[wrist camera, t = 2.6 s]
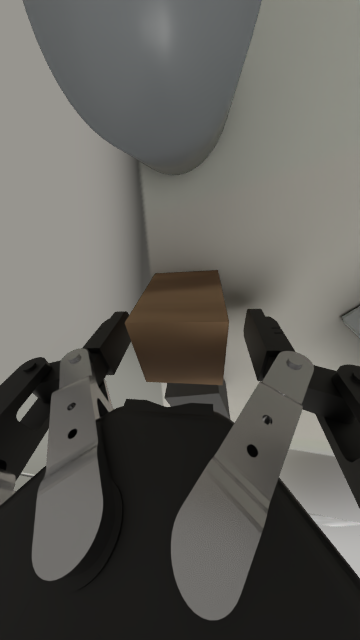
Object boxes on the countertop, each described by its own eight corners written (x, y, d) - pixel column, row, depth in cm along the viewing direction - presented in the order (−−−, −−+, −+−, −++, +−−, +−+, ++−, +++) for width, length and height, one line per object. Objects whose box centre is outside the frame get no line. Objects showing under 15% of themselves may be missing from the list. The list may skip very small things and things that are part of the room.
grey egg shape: (98, 5, 6) (-100, -361, 2) (238, -39, 5) (344, -725, 1) (133, 180, 9) (79, 167, 5) (227, 167, 8) (250, 140, 4)
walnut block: (155, 273, 12) (124, 322, 7) (217, 269, 11) (229, 321, 7) (164, 322, 15) (146, 381, 10) (215, 321, 14) (222, 385, 9)
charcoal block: (171, 362, 18) (164, 397, 15) (215, 355, 17) (219, 393, 14) (186, 387, 21) (183, 421, 18) (225, 383, 19) (230, 420, 16)
